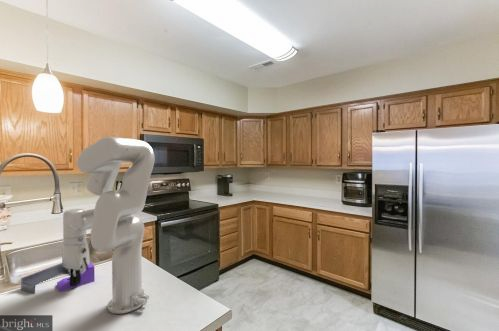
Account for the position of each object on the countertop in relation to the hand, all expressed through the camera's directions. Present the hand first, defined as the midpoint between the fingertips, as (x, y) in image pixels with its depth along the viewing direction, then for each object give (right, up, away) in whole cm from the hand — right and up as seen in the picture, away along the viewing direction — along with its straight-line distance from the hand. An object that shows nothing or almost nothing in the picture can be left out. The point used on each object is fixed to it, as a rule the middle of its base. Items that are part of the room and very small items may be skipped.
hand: (75, 284), depth 97 cm
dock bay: (-13, -1, +4) cm, 14 cm away
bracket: (-2, -2, +4) cm, 5 cm away
